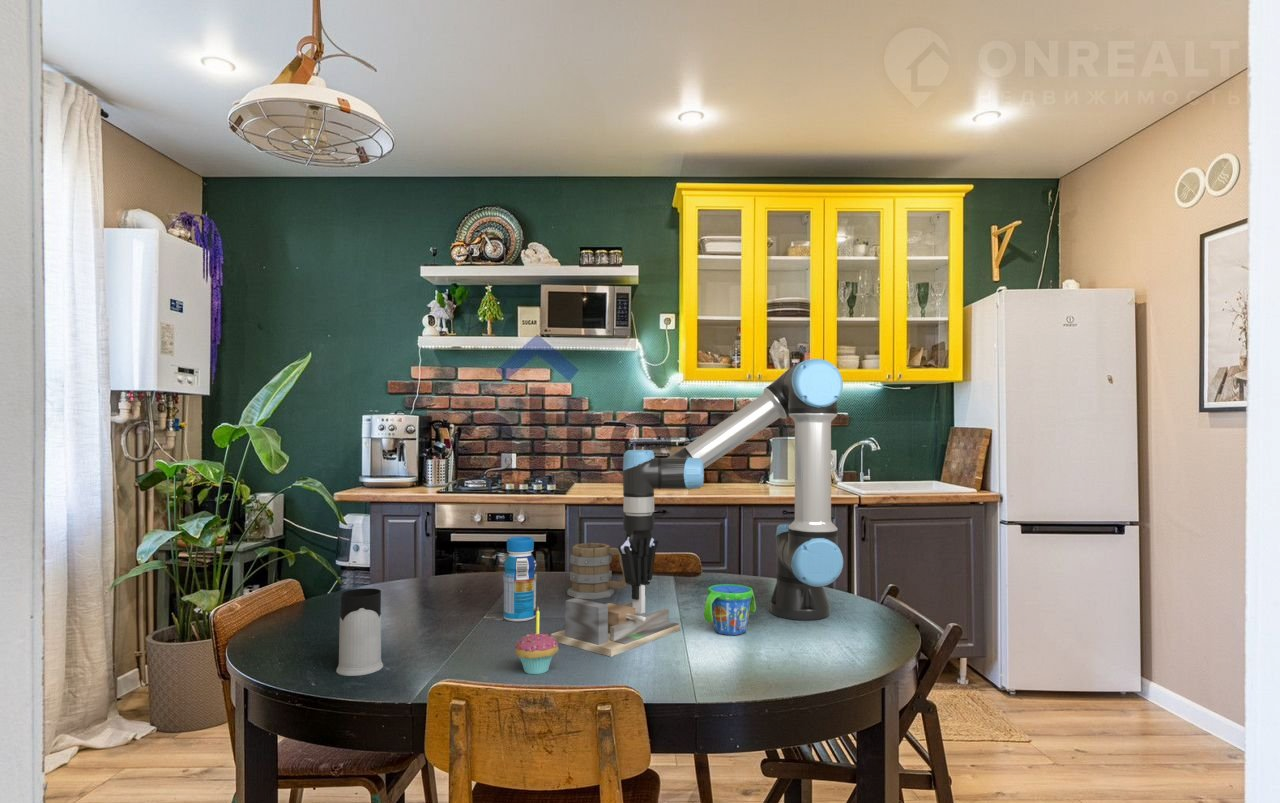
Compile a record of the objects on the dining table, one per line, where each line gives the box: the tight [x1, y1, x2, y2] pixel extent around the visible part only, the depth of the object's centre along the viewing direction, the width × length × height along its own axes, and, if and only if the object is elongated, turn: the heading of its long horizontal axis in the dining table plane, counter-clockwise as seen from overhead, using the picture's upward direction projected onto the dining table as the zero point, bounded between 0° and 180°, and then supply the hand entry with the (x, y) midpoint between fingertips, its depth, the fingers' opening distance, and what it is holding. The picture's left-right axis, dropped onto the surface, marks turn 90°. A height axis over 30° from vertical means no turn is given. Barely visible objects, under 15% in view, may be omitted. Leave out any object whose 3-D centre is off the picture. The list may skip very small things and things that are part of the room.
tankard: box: [566, 542, 628, 601], centre depth 204 cm, size 20×13×15 cm, turn 81°
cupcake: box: [514, 606, 560, 675], centre depth 140 cm, size 9×8×12 cm
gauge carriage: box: [605, 602, 646, 632], centre depth 162 cm, size 13×6×5 cm, turn 51°
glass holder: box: [335, 587, 384, 677], centre depth 144 cm, size 9×14×15 cm, turn 24°
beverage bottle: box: [502, 536, 538, 623], centre depth 179 cm, size 8×8×20 cm
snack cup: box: [703, 583, 757, 636], centre depth 167 cm, size 16×10×10 cm
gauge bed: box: [550, 597, 681, 658], centre depth 164 cm, size 18×25×10 cm
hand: (638, 612), depth 170 cm, fingers closed
